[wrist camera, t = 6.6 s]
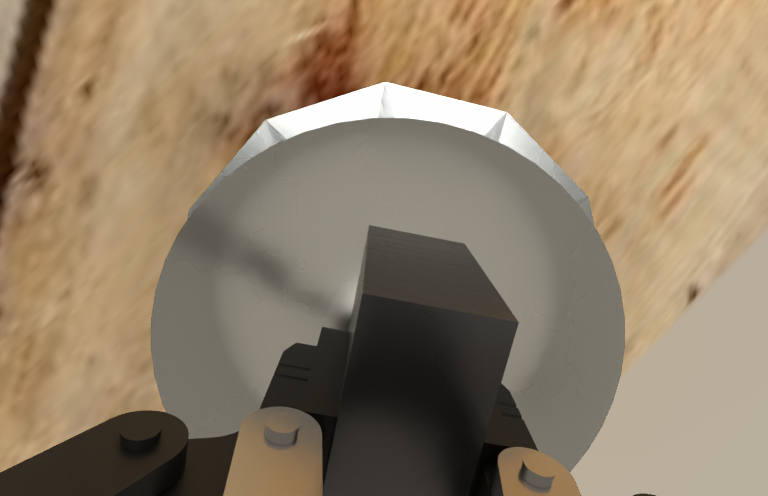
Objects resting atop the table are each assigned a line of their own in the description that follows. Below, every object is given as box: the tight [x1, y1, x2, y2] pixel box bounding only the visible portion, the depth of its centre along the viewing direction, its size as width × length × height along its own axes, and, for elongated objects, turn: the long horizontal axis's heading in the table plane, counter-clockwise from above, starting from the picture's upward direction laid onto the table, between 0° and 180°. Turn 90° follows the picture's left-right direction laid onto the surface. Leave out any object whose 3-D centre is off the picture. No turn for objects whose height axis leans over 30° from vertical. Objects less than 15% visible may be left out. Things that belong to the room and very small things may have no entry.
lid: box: [151, 118, 625, 496], centre depth 11 cm, size 12×12×6 cm
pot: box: [188, 82, 594, 226], centre depth 19 cm, size 13×13×9 cm
